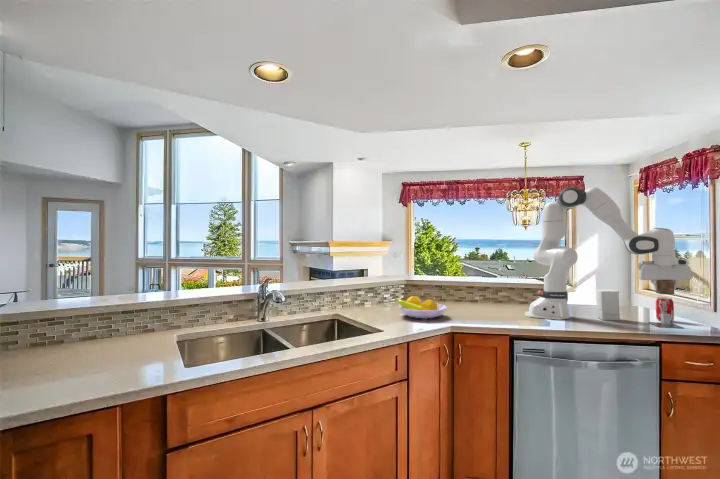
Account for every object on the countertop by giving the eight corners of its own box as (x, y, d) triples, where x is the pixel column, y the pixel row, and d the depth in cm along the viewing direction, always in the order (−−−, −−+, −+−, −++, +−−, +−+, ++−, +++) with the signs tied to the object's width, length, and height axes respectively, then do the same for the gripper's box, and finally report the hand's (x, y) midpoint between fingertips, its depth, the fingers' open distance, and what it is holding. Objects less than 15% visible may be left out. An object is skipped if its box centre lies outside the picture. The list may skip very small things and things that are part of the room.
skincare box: (615, 318, 189) (614, 289, 189) (620, 321, 182) (619, 291, 183) (597, 317, 191) (596, 289, 191) (601, 320, 185) (601, 290, 185)
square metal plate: (658, 327, 169) (658, 314, 169) (648, 322, 178) (648, 311, 178) (683, 328, 166) (683, 316, 166) (672, 323, 175) (672, 312, 175)
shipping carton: (661, 294, 170) (660, 280, 170) (655, 292, 175) (655, 279, 175) (674, 294, 168) (673, 280, 168) (668, 292, 173) (668, 279, 173)
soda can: (677, 322, 178) (677, 299, 178) (661, 322, 179) (660, 298, 179) (668, 319, 185) (667, 296, 185) (652, 319, 186) (652, 296, 186)
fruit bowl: (442, 312, 211) (442, 293, 211) (449, 322, 184) (449, 300, 184) (395, 311, 214) (395, 293, 214) (395, 321, 187) (395, 300, 187)
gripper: (641, 261, 172) (642, 289, 172) (693, 261, 165) (694, 290, 165) (635, 260, 178) (636, 288, 178) (685, 260, 171) (686, 288, 171)
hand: (664, 289), depth 171 cm, fingers closed on shipping carton, 5 cm apart
